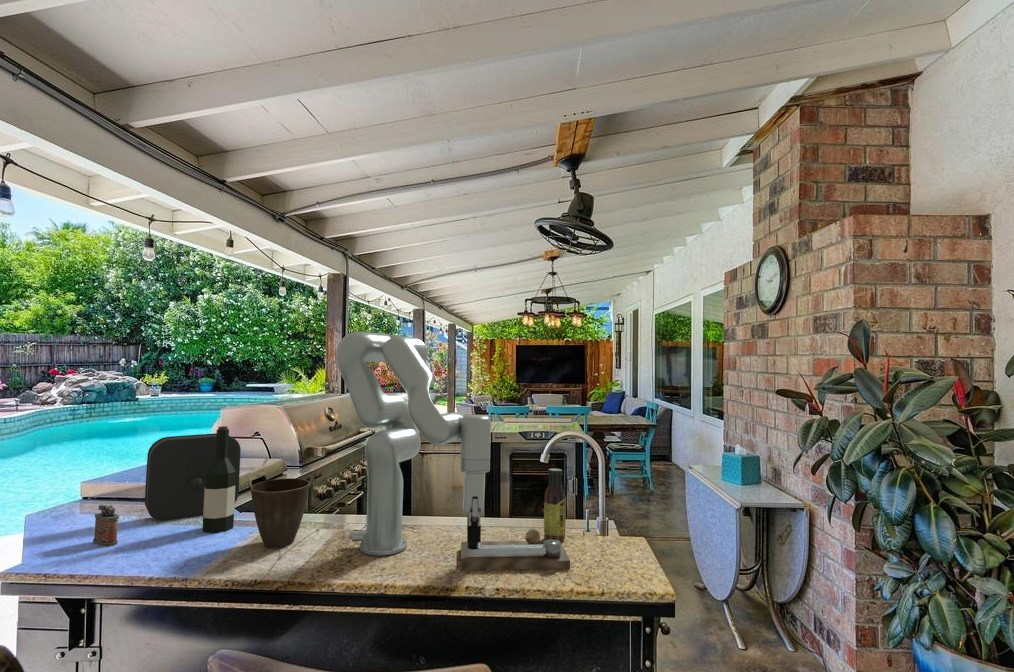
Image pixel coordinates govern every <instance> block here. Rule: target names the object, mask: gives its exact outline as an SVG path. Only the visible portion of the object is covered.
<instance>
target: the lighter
mask: <svg viewBox="0 0 1014 672" xmlns="http://www.w3.org/2000/svg"><path fill="white" fill-rule="evenodd" d="M115 509H116V508H115V507H113V505H112V504H110V505H108V504H99V505H98V510H99V511H100V512H98V513H95V514H94V518H95V521H94V522H95V523H94V524H95V525H94V538H93V540H92V543H93V544H95V545H97V546H100V547H106V548H109V547H114V546H117V545H118V528H119V527H118V525H119V524H118V523H119V519H120V515H119V514H117V513H115V512H116V510H115Z"/></svg>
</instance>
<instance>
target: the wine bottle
mask: <svg viewBox="0 0 1014 672" xmlns="http://www.w3.org/2000/svg"><path fill="white" fill-rule="evenodd" d="M217 428H218V429H216V432H215V433H216V453H215V459H214V460H213V462H212V463H211V465H210V466H209V468H208V469H207V471H206V472H205V489H204V508H203V515H202V528H201V530H202V533H203V534H204V533H205V534H219V533H223V532H228V531H229V530H231V529H234V522H235V521H234V520H235V504H236V502H235V483H236V471H235V469H234V467H233V466H232V464H231V462H230V461H229V459H228V442H229V436H230V429H229V427H228V426H224V425H223V426H218V427H217Z"/></svg>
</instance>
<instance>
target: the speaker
mask: <svg viewBox="0 0 1014 672" xmlns="http://www.w3.org/2000/svg"><path fill="white" fill-rule="evenodd" d="M216 433H217V432H215V433H202V434H189V435H188V434H187V435H184V434H183V435H173V436H164V437H161V438H159V439H157V440H156V441H155V442H153V443H152V445H151V446H150V447H149V449H148V451H147V456H146V472H145V474H146V475H145V491H144V492H145V493H144V495H145V496H144V505H145V508H146V510H147V513H148V514H149V516H150V517H151V518H153V519H154V520H156V521H159V522H168V521H174V520H175V521H177V520H182V519H188V518H193V517H201V516H203V508H204V489H205V472H206V471H207V469H208V468H209V466H210V465H211V463H212V462H213V460H214V459H215V453H216ZM241 450H242V449H241V445H240V443H239V441H238V440H237V439H235V438H234V437H232V436H230V435H229V442H228V459H229V461H230V462H231V464H232V466H233V467H234V469H235V471H236V483H235V503H236V502H237V500H238V498H239V490H240V489H239V488H240V476H241V475H240V474H241V473H240V469H241V453H242V451H241Z"/></svg>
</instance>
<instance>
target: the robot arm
mask: <svg viewBox="0 0 1014 672" xmlns="http://www.w3.org/2000/svg"><path fill="white" fill-rule="evenodd" d="M428 355H429V354H428V348H427V345H426V344H425V343H424V342H423V341H422V340H421V339H420V338H418V337H414V336H413V337H411V336H404V335H403V336H401V335H393V334H388V333H378V332H370V331H354V332H351V333H347V334H346V335H345V336H344V337H342V339H341V340H340V342H339V344H338V346H337V350H336V357H335V358H336V365H337V367H338V372H339V373H340V374H341V375H340V376H341V377H342V379H343V381H344V383H345V386H346V387H347V391H348V393H349V396H350V399H351V402H352V404H353V407H354V410H355V413H356V415H357V418H358V420H359V422H360V424H361V425H362V426H363V427H364V428H367V429H378V428H383V427H385V429H383V430H380V431H377V432H375V433H373V434H372V435H371V436H370V437H369V438H368V439H367V441H366V443H365V446H364V456H365V462H366V463H365V464H366V470H367V471H366V472H367V483H366V484H367V488H366V489H367V494H366V520H365V521H366V522H365V526H366V527H365V530H362V531H350V532H349V540H351V542H359V551H360V552H362V553H363V554H366V555H369V556H380V557H381V556H390V555H395V554H398V553H400V552H402V551H405V549H406V548H407V547H408V540H407V539H406V538H405V537H402V536H403V534H402V533H403V506H404V505H403V503H404V502H403V501H404V478H403V477H404V476H403V472H402V470H401V467H400V463H402V462H405V461H408V460H410V459H413V458H414V457H416V456H417V455H418V453H419V452H420V450H421V445H422V443H421V441H422V439H421V436H422V437H423V438H424V440H426V441H427V442H428V443H430V444H432V445H434V446H443V445H446V444H449V443H453V442H458V441H460V462H459V471H460V472H462V473H463V483H462V484H463V486H462V487H463V490H462V513H463V514H464V515H467V519H466V523H467V524H468V516H469V525H468V535H466V542H468V543H478V542H480V541H481V540H482V538H481V537H482V525H481V514H483V513H484V507H485V505H484V503H485V491H486V490H485V488H486V473H489V472H490V471H491V439H492V438H491V436H492V435H491V433H492V431H491V430H492V428H491V427H492V425H491V424H492V421H491V418H490V417H489V416H488V415H483V414H466V413H462V412H456V411H453V412H446V413H445V412H444V413H440V411H439V409H438V408H437V407H436V405H435V404H434V402H433V400H432V398H431V396H430V387H431V386H432V385H433V383H434V382H435V376H434V374H433V372H432V371H431V369H430V368H429V366H428V365H427V364H426V361H427V358H428ZM367 362H369V363H372V362H373V363H386V365H388V367H389V369H390V370H391V372H392V373H393V374H394V376H395V377H396V379H397V380H398V382H399V383H400V385H401V387H402V388H403V389H404V391H405V393H406V396H407V398H406V400H405V399H404V398H403V397H402V396H401V395H399V394H398V393H394V392H384V391H383V389H382V387H381V385H380V383H379V380H378V378H377V375H376V374H375V373H374V371H373V370H372V369H371V368H370V367H369V365H368V364H367ZM420 434H421V436H420ZM471 515H472V517H471ZM467 524H466V525H467Z"/></svg>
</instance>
